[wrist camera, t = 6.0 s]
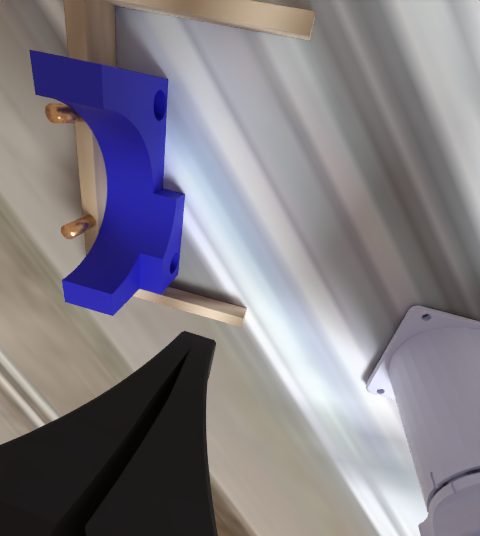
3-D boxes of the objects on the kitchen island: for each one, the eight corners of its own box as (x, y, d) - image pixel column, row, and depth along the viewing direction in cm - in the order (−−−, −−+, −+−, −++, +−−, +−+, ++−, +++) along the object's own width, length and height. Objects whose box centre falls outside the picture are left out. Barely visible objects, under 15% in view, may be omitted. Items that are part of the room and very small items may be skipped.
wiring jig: (314, 18, 14) (315, -18, 10) (244, 316, 22) (230, 359, 18) (95, -19, 15) (20, -64, 11) (109, 278, 23) (70, 311, 20)
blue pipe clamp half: (178, 273, 22) (137, 322, 17) (122, 257, 22) (65, 301, 17) (195, 85, 16) (139, 71, 11) (118, 69, 17) (29, 49, 11)
